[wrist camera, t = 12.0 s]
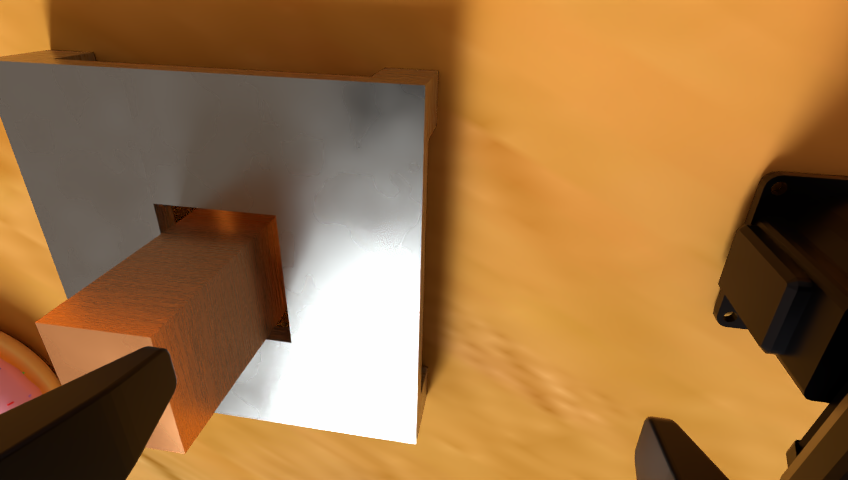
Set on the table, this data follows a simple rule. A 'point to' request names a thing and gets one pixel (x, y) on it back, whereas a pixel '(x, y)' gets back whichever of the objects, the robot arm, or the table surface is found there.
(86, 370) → the square wooden peg
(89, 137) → the slotted plate
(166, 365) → the robot arm
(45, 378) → the doughnut
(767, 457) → the table surface
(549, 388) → the table surface
